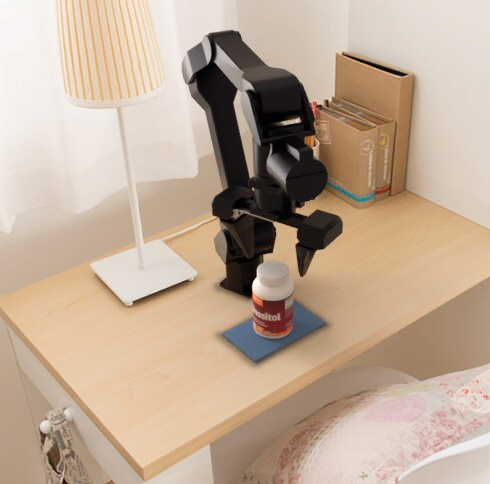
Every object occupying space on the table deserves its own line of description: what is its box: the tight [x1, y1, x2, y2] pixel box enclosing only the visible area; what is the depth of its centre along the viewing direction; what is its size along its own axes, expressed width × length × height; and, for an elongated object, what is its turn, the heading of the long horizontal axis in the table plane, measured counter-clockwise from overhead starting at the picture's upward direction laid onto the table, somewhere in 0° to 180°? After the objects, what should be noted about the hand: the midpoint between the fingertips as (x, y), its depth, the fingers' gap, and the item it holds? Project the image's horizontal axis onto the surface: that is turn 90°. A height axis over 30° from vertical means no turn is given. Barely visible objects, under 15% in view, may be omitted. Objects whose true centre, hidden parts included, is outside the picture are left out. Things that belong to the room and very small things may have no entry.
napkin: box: [221, 299, 327, 364], centre depth 116 cm, size 14×8×1 cm, turn 129°
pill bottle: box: [252, 260, 295, 339], centre depth 112 cm, size 6×6×11 cm
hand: (276, 266), depth 109 cm, fingers open, 9 cm apart
